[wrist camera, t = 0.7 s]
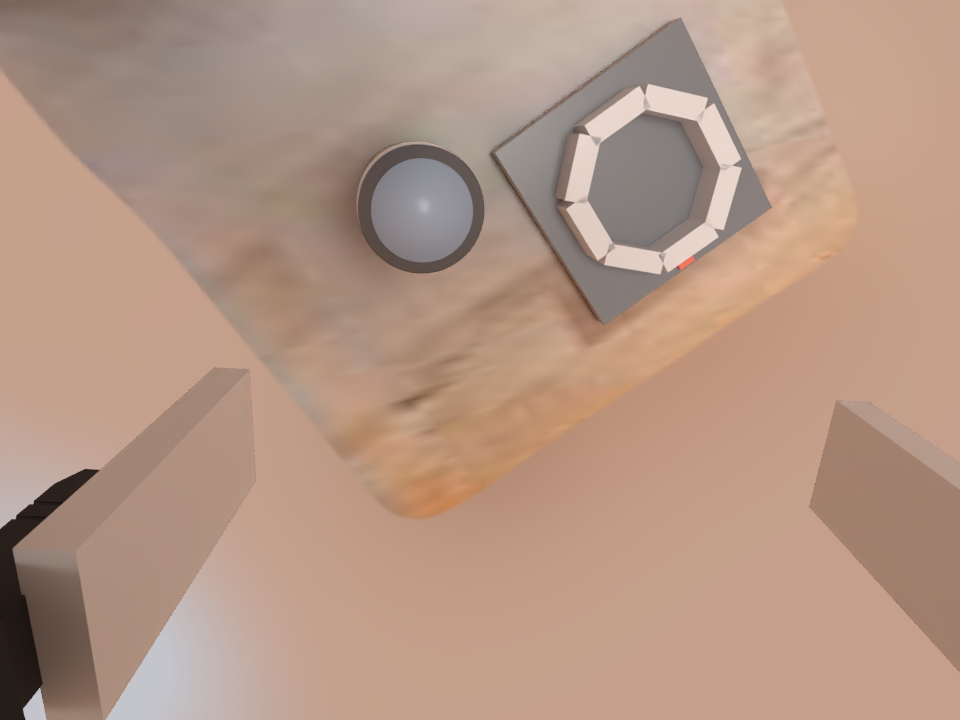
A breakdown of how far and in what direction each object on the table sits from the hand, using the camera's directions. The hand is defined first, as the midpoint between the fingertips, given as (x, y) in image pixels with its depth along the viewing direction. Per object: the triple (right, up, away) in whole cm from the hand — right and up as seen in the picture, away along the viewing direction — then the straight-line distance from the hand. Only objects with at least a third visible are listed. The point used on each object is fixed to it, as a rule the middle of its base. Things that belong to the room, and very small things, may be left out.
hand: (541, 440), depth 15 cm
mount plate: (+7, +12, +23) cm, 27 cm away
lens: (-5, +11, +21) cm, 25 cm away
